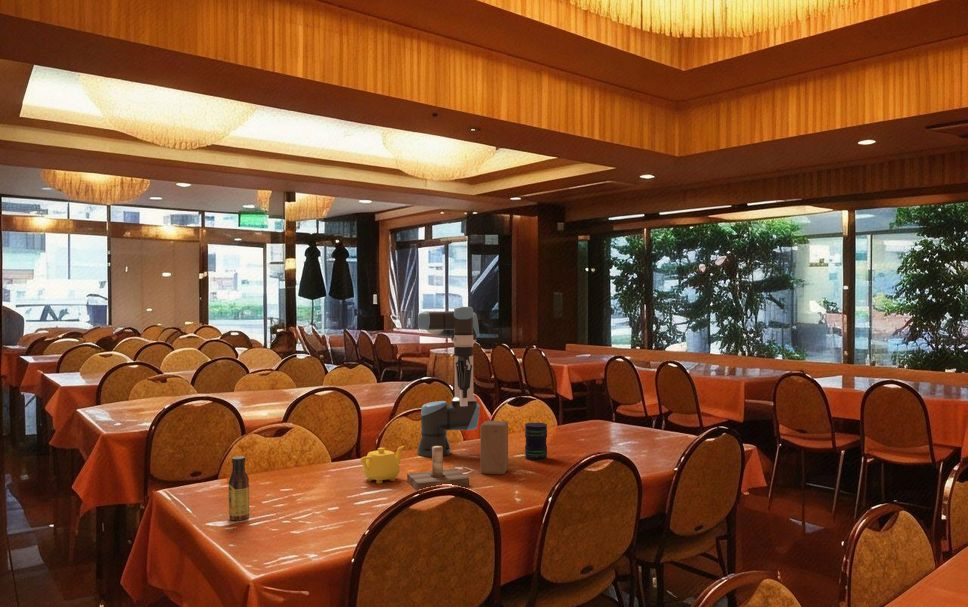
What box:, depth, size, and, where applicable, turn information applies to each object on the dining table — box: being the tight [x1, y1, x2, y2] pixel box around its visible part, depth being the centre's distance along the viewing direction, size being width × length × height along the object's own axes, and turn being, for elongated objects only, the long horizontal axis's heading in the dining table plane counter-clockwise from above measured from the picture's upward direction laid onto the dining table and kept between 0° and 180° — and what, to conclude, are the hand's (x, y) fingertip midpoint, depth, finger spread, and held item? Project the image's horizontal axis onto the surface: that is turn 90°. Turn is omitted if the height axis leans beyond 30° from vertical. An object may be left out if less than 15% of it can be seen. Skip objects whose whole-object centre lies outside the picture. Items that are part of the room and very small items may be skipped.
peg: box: [431, 446, 444, 478], centre depth 263 cm, size 4×4×14 cm
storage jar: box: [524, 422, 548, 462], centre depth 305 cm, size 10×10×15 cm
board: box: [406, 468, 470, 491], centre depth 263 cm, size 15×20×3 cm
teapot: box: [360, 445, 405, 485], centre depth 269 cm, size 13×20×12 cm
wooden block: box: [479, 420, 509, 475], centre depth 281 cm, size 10×10×20 cm
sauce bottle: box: [228, 455, 250, 521], centre depth 222 cm, size 7×6×20 cm
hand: (463, 405), depth 271 cm, fingers closed
